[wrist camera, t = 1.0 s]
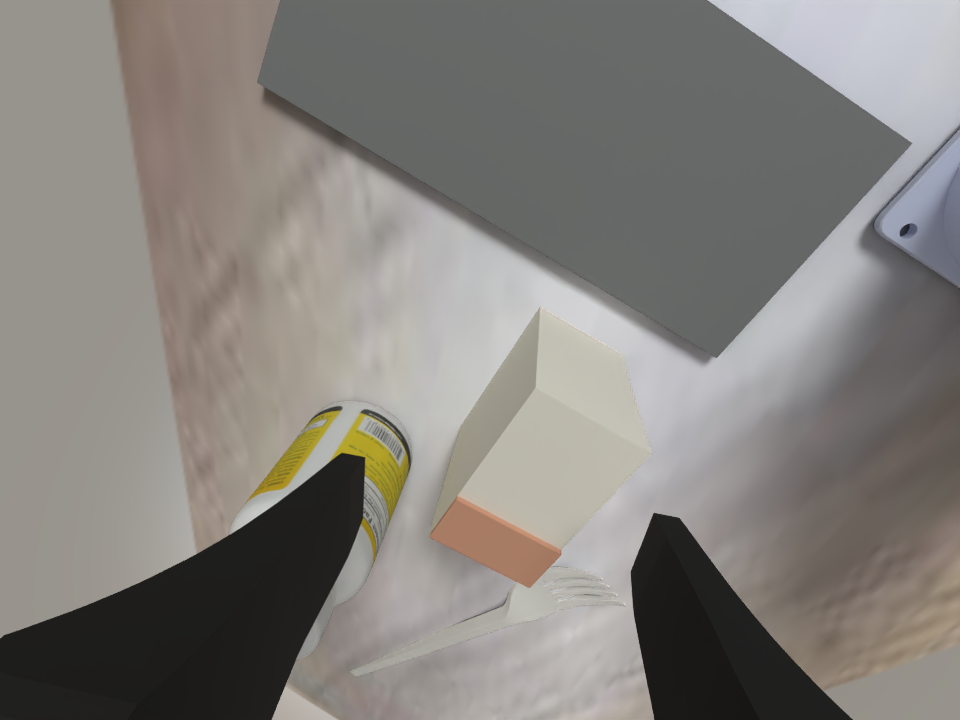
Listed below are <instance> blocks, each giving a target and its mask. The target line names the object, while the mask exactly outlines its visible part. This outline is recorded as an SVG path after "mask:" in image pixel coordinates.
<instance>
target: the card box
mask: <svg viewBox="0 0 960 720" xmlns="http://www.w3.org/2000/svg"><path fill="white" fill-rule="evenodd" d="M651 454H652V452H651V448H650V445H649V442H648V439H647V435H646V432H645V429H644V426H643V422H642V419H641V416H640V412H639V409H638V406H637V403H636V399H635V396H634V393H633V390H632V386H631V383H630V380H629V377H628V373H627V370H626V367H625V363H624V360H623V357H622V354H621V353H619V352H617V351H616V350H614V349H612V348H611V347H609V346H607V345H605V344H604V343H602V342H600V341H599V340H597V339H595V338H593V337H592V336H590V335H588V334H587V333H585V332H583V331H582V330H580V329H578V328H576V327H575V326H573V325H571V324H570V323H568V322H566V321H564V320H563V319H561V318H559V317H558V316H556V315H554V314H552V313H551V312H549V311H547V310H546V309H544V308H542V307H541V306H540V308H539V309H538V311H537V312H536V314H535V315H534V317H533V318H532V320H531V321H530V323H529V324H528V326H527V327H526V329H525V330H524V332H523V333H522V335H521V336H520V338H519V339H518V341H517V342H516V344H515V345H514V347H513V348H512V350H511V351H510V353H509V354H508V356H507V357H506V359H505V360H504V362H503V363H502V365H501V366H500V368H499V369H498V371H497V372H496V374H495V375H494V377H493V378H492V380H491V381H490V383H489V384H488V386H487V387H486V389H485V390H484V392H483V393H482V395H481V396H480V398H479V399H478V401H477V402H476V404H475V405H474V407H473V408H472V410H471V411H470V413H469V414H468V416H467V417H466V419H465V420H464V422H463V423H462V425H461V427H460V431H459V434H458V437H457V441H456V444H455V447H454V451H453V454H452V458H451V461H450V464H449V468H448V471H447V474H446V478H445V481H444V484H443V488H442V491H441V494H440V498H439V501H438V505H437V508H436V511H435V515H434V518H433V521H432V525H431V528H430V531H429V535H428V537H430V538H432V539H434V540H436V541H438V542H440V543H442V544H444V545H446V546H448V547H450V548H451V549H453V550H455V551H457V552H459V553H461V554H463V555H465V556H467V557H469V558H471V559H473V560H475V561H477V562H479V563H481V564H483V565H485V566H487V567H489V568H491V569H493V570H495V571H496V572H498V573H500V574H502V575H504V576H506V577H508V578H510V579H512V580H514V581H516V582H518V583H520V584H522V585H524V586H526V587H528V588H530V587H531V586H532V585H533V584H534V583H535V582H536V581H537V580H538V579H539V578H540V577H541V576H542V575H543V574H544V573H545V572H546V571H547V569H548V568H549V567H550V566H551V565H552V564H553V563H554V562H555V561H556V560H557V559H558V558H559V557H560V556H561V550H562V549H563V548H564V547H565V546H566V545H567V543H568V542H569V541H570V540H571V539H572V538H573V537H574V536H575V535H576V534H577V533H578V532H579V531H580V530H581V529H582V528H583V526H584V525H585V524H586V523H587V522H588V521H589V520H590V519H591V518H592V517H593V516H594V515H595V514H596V513H597V512H598V510H599V509H600V508H601V507H602V506H603V505H604V504H605V503H606V502H607V501H608V500H609V499H610V498H611V497H612V496H613V495H614V493H615V492H616V491H617V490H618V489H619V488H620V487H621V486H622V485H623V484H624V483H625V482H626V481H627V480H628V479H629V477H630V476H631V475H632V474H633V473H634V472H635V471H636V470H637V469H638V468H639V467H640V466H641V465H642V464H643V463H644V461H645V460H646V459H647V458H648V457H649V456H650V455H651Z"/></svg>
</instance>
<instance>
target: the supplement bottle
mask: <svg viewBox="0 0 960 720" xmlns="http://www.w3.org/2000/svg"><path fill="white" fill-rule="evenodd" d="M341 453H347V454H352V455H357V456H362V457H365V482H364V509H363V520H362V523H361V525H360V528H359V531H358V533H357V536H356V539H355V541H354V544H353V547H352V549H351V552H350V554H349V557H348V559H347V560H346V562H345V564H344V566H343V568H342V570H341V572H340V574H339V576H338V578H337V580H336V582H335V584H334V586H333V588H332V590H331V592H330V594H329V595H328V597H327V599H326V601H325V603H324V605H323V607H322V609H321V611H320V613H319V615H318V617H317V618H316V620H315V622H314V624H313V626H312V628H311V630H310V632H309V634H308V636H307V638H306V640H305V642H304V644H303V646H302V648H301V650H300V652H299V654H298V656H297V659H296V660H299V659H302V658H305V657H306V656H308V655H309V654H311V653H312V652H313V651H314V650H315V648H316V647H317V645H318V644H319V641H320V639H321V637H322V635H323V633H324V631H325V629H326V627H327V625H328V623H329V621H330V618H331V616H332V612H333V609H334V607H335V606H336V605H339V604H341V603H343V602H345V601H347V600H348V599H350V598H351V597H352V596H354V595H355V594H356V593H357V592H358V591H359V590H360V588H361V587H362V586H363V584H364V583H365V581H366V579H367V577H368V575H369V573H370V571H371V568H372V566H373V563H374V561H375V558H376V556H377V553H378V550H379V548H380V545H381V543H382V540H383V537H384V535H385V532H386V530H387V527H388V525H389V522H390V520H391V517H392V514H393V512H394V509H395V507H396V504H397V502H398V499H399V496H400V494H401V491H402V489H403V486H404V483H405V481H406V478H407V475H408V472H409V470H410V466H411V461H412V447H411V442H410V439H409V437H408V435H407V433H406V431H405V430H404V428H403V427H402V425H401V424H400V423H399V422H398V421H397V420H396V419H395V418H394V417H393V416H392V415H391V414H389V413H388V412H386V411H385V410H383V409H381V408H379V407H377V406H374V405H372V404H368V403H365V402H359V401H342V402H337V403H334V404H331V405H328V406H326V407H325V408H323V409H321V410H320V411H319V412H318V413H317V414H316V415H315V416H314V417H313V418H312V419H311V420H310V422H309V423H308V424H307V425H306V427H305V428H304V429H303V430H302V431H301V433H300V434H299V435H298V437H297V438H296V439H295V441H294V442H293V443H292V445H291V446H290V447H289V449H288V450H287V451H286V452H285V454H284V455H283V456H282V457H281V459H280V460H279V461H278V462H277V464H276V465H275V466H274V468H273V469H272V470H271V472H270V473H269V474H268V475H267V477H266V478H265V479H264V481H263V482H262V483H261V484H260V486H259V487H258V488H257V489H256V491H255V492H254V493H253V494H252V496H251V497H250V498H249V500H248V501H247V502H246V503H245V505H244V506H243V507H242V509H241V510H240V512H239V513H238V515H237V516H236V518H235V520H234V522H233V524H232V527H231V530H230V534H232V533H233V532H235V531H236V530H238V529H240V528H241V527H243V526H244V525H246V524H247V523H249V522H250V521H251V520H253V519H254V518H256V517H257V516H259V515H260V514H262V513H263V512H265V511H266V510H268V509H269V508H270V507H272V506H273V505H275V504H276V503H277V502H279V501H280V500H281V499H283V498H284V497H285V496H287V495H288V494H289V493H291V492H292V491H293V490H295V489H296V488H297V487H299V486H300V485H301V484H303V483H304V482H305V481H306V480H308V479H309V478H310V477H311V476H313V475H314V474H315V473H316V472H318V471H319V470H320V469H321V468H323V467H324V466H325V465H326V464H328V463H329V462H330V461H331V460H333V459H334V458H335V457H336V456H338V455H339V454H341ZM230 534H229V535H230Z"/></svg>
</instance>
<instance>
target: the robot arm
mask: <svg viewBox="0 0 960 720" xmlns="http://www.w3.org/2000/svg"><path fill="white" fill-rule="evenodd" d="M906 224H909V225H910V229H909V231H908V232H907V233H906V234H905V235H903V236H900V230H901V228H902V227H903V226H905V225H906ZM874 227H875V231H876V232H877V233H878V234H879V235H880V236H882V237H883V238H885V239H886V240H888V241H889V242H891V243H892V244H894V245H895V246H897V247H898V248H900V249H901V250H903V251H904V252H906V253H907V254H909V255H910V256H912V257H913V258H915V259H916V260H918V261H919V262H921V263H922V264H924V265H925V266H927V267H928V268H930V269H931V270H933V271H934V272H936V273H937V274H939V275H940V276H942V277H943V278H945V279H946V280H948V281H949V282H951V283H952V284H954V285H956V286H957V287H959V288H960V129H959V130H958V131H957V132H956V133H955V135H954V136H953V137H952V138H951V139H950V140H949V141H948V142H947V143H946V144H945V145H944V146H943V147H942V148H941V149H940V150H939V152H938V153H937V154H936V155H935V156H934V157H933V158H932V159H931V160H930V161H929V162H928V163H927V164H926V165H925V166H924V167H923V168H922V170H921V171H920V172H919V173H918V174H917V175H916V176H915V177H914V178H913V179H912V180H911V181H910V182H909V183H908V184H907V185H906V187H905V188H904V189H903V190H902V191H901V192H900V193H899V194H898V195H897V196H896V197H895V198H894V199H893V200H892V201H891V202H890V203H889V205H888V206H887V207H886V208H885V209H884V210H883V211H882V212H881V213H880V214H879V216H878V217H877V218H876V220H875V224H874ZM364 482H365V457H362V456H357V455H352V454H347V453H341V454H339V455H338V456H336V457H335V458H334V459H333V460H331V461H330V462H329V463H328V464H326V465H325V466H324V467H323V468H321V469H320V470H319V471H318V472H316V473H315V474H314V475H313V476H311V477H310V478H309V479H308V480H306V481H305V482H304V483H303V484H301V485H300V486H299V487H297V488H296V489H295V490H293V491H292V492H291V493H289V494H288V495H287V496H285V497H284V498H283V499H281V500H280V501H279V502H277V503H276V504H275V505H273V506H272V507H270V508H269V509H268V510H266V511H265V512H263V513H262V514H260V515H259V516H257V517H256V518H254V519H253V520H251V521H250V522H249V523H247V524H246V525H244V526H243V527H241V528H240V529H238V530H236V531H235V532H233V533H232V534H230V535H228V536H227V537H225V538H224V539H222V540H220V541H219V542H217V543H215V544H213V545H212V546H210V547H208V548H207V549H205V550H203V551H201V552H200V553H198V554H196V555H194V556H193V557H190V558H189V559H187V560H185V561H183V562H181V563H179V564H177V565H175V566H173V567H171V568H169V569H167V570H165V571H163V572H161V573H159V574H157V575H155V576H153V577H151V578H149V579H146V580H144V581H142V582H140V583H138V584H136V585H133V586H131V587H129V588H127V589H124V590H122V591H120V592H118V593H115V594H113V595H110V596H108V597H106V598H103V599H101V600H98V601H96V602H94V603H91V604H89V605H86V606H84V607H81V608H79V609H76V610H73V611H71V612H68V613H65V614H63V615H60V616H57V617H54V618H52V619H49V620H46V621H43V622H41V623H38V624H35V625H32V626H30V627H27V628H24V629H21V630H19V631H16V632H13V633H10V634H7V635H4V636H3V637H2V638H0V720H272V717H273V715H274V712H275V710H276V707H277V704H278V702H279V700H280V697H281V695H282V692H283V690H284V687H285V685H286V683H287V680H288V678H289V675H290V673H291V670H292V668H293V666H294V663H295V661H296V659H297V656H298V654H299V652H300V650H301V648H302V646H303V644H304V642H305V640H306V638H307V636H308V634H309V632H310V630H311V628H312V626H313V624H314V622H315V620H316V618H317V617H318V615H319V613H320V611H321V609H322V607H323V605H324V603H325V601H326V599H327V597H328V595H329V594H330V592H331V590H332V588H333V586H334V584H335V582H336V580H337V578H338V576H339V574H340V572H341V570H342V568H343V566H344V564H345V562H346V560H347V559H348V557H349V554H350V552H351V549H352V547H353V544H354V541H355V539H356V536H357V533H358V531H359V528H360V525H361V523H362V520H363V509H364ZM631 583H632V598H633V609H634V617H635V623H636V628H637V633H638V639H639V644H640V649H641V654H642V659H643V664H644V669H645V674H646V679H647V684H648V689H649V694H650V699H651V704H652V709H653V714H654V720H853V719H851V718H850V717H849V716H848V715H847V714H846V713H845V712H844V711H843V710H842V709H841V708H840V707H839V706H838V705H837V704H836V703H834V702H833V701H832V700H831V699H830V698H829V697H828V696H827V695H826V694H825V693H824V692H823V691H822V690H821V689H820V688H819V687H818V686H817V685H816V684H815V683H814V682H813V680H812V679H811V678H810V677H809V676H808V675H807V674H806V673H805V672H804V671H803V670H802V669H801V668H800V667H799V666H798V665H797V664H796V663H795V662H794V661H793V660H792V659H791V657H790V656H789V655H788V654H787V653H786V652H785V651H784V650H783V649H782V648H781V647H780V645H779V644H778V643H777V642H776V641H775V640H774V639H773V638H772V636H771V635H770V634H769V633H768V632H767V631H766V629H765V628H764V627H763V626H762V625H761V623H760V622H759V621H758V620H757V619H756V618H755V616H754V615H753V614H752V613H751V612H750V610H749V609H748V608H747V607H746V605H745V604H744V603H743V602H742V601H741V599H740V598H739V597H738V596H737V594H736V593H735V592H734V590H733V589H732V588H731V587H730V585H729V584H728V583H727V581H726V580H725V579H724V578H723V576H722V575H721V574H720V572H719V571H718V570H717V568H716V567H715V566H714V564H713V563H712V562H711V560H710V559H709V557H708V556H707V555H706V553H705V552H704V551H703V549H702V548H701V547H700V545H699V544H698V542H697V541H696V540H695V538H694V537H693V536H692V534H691V533H690V532H689V530H688V529H687V527H686V526H685V525H684V523H683V522H682V521H681V519H680V518H677V517H672V516H667V515H662V514H657V513H654V514H653V516H652V519H651V521H650V524H649V527H648V529H647V532H646V534H645V537H644V539H643V542H642V544H641V547H640V550H639V552H638V555H637V557H636V560H635V562H634V565H633V567H632V570H631Z"/></svg>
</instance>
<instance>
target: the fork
mask: <svg viewBox="0 0 960 720" xmlns="http://www.w3.org/2000/svg"><path fill="white" fill-rule="evenodd" d="M582 578H590V579H597V580H603V578H602V577H600V576H598V575H595V574H592V573H589V572H585V571H582V570H578V569H572V568H564V567H550V568H548V569H547V571H546V572H545V573H544V574H543V575H542V576H541V577H540V578H539V579H538V580H537V581H536V582H535V583H534V584H533V585H532V586H531V587H530V588H528V587H526V586H524V585H522V584H520V583H516V584H515V585H514V586H513V587H512V588H511V589H510V590H509V592H508V597H507V600H506V602H505V604H504V605H503V606H502V607H499V608H497V609H494V610H492V611H489V612H487V613H484V614H482V615H479V616H476V617H474V618H471V619H469V620H466V621H464V622H461V623H458V624H456V625H453V626H451V627H448V628H446V629H443V630H441V631H439V632H436V633H434V634H432V635H430V636H428V637H425V638H423V639H421V640H419V641H416V642H414V643H412V644H410V645H408V646H405V647H403V648H401V649H399V650H396V651H394V652H392V653H390V654H387V655H385V656H383V657H381V658H378V659H376V660H374V661H371V662H369V663H367V664H365V665H362V666H360V667H358V668H355V669H353V670H351V671H350V672H351V673H352V674H353V675H354V676H356V677H358V676H361V675H364V674H367V673H370V672H373V671H377V670H380V669H382V668H385V667H388V666H391V665H394V664H397V663H400V662H403V661H406V660H409V659H412V658H415V657H418V656H421V655H424V654H427V653H430V652H433V651H436V650H439V649H442V648H445V647H448V646H451V645H454V644H457V643H460V642H463V641H466V640H469V639H472V638H475V637H478V636H481V635H484V634H487V633H490V632H493V631H496V630H499V629H502V628H505V627H508V626H511V625H515V624H519V623H524V622H529V621H534V620H538V619H541V618H543V617H545V616H548V615H550V614H552V613H554V611H555V609H560V610H564V609H568V608H572V607H577V606H584V605H594V604H601V605H618V606H625V607H626V604H625V603H623V602H620V601H617V600H614V599H610V598H606V597H602V596H595V595H582V594H596V595H606V596H613V597H618V595H617V594H616V593H613V592H610V591H607V590H603V589H599V588H594V587H602V588H608V589H610V586H609V585H607V584H604V583H601V582H598V581H593V580H589V579H582ZM556 579H559V580H557V581H554V582H552V583H550V584H547V585H543V584H542V583H543V582H547V581H551V580H556ZM586 586H594V587H586ZM565 587H567V588H565ZM558 588H564V589H562V590H560V591H557V592H554V593H550V592H549V591H550V590H554V589H558ZM572 595H575V596H572ZM565 596H572V597H569V598H566V599H564V600H561V601H558V600H557V598H560V597H565Z"/></svg>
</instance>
